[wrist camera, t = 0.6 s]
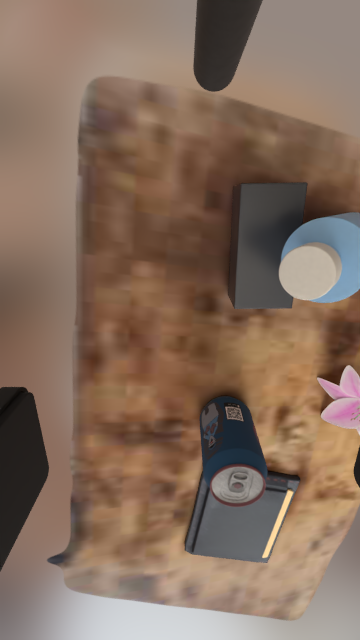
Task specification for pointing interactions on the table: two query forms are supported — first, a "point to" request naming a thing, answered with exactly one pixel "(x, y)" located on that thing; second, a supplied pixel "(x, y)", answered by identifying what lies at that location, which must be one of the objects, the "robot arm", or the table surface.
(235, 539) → the wallet
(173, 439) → the table surface
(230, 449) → the soda can
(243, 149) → the table surface
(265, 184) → the block
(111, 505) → the table surface
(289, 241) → the bottle
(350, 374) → the lily
